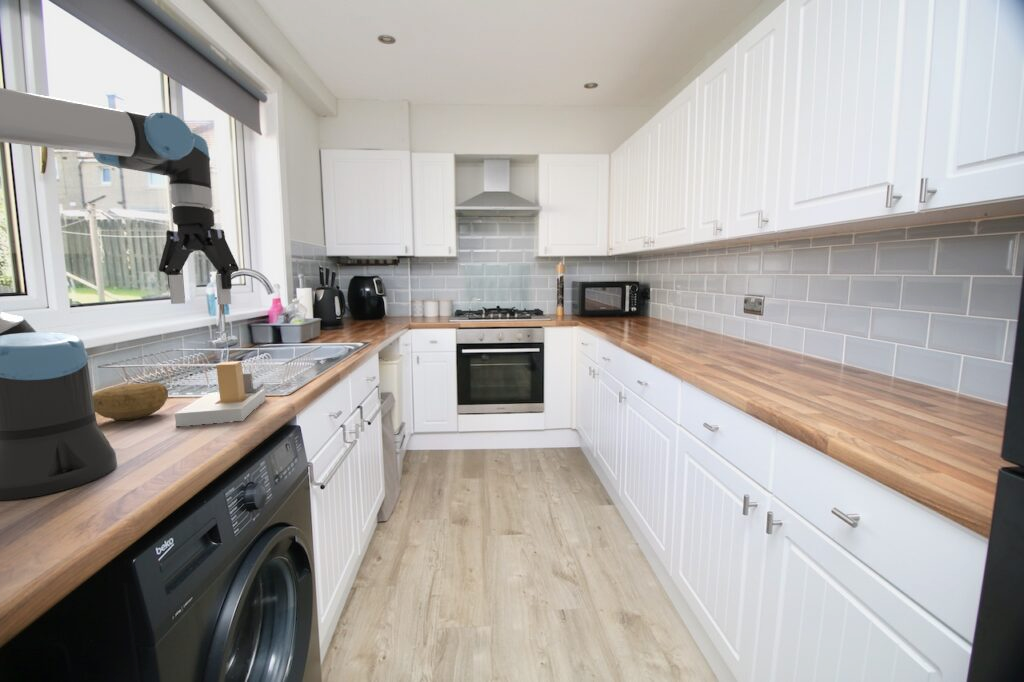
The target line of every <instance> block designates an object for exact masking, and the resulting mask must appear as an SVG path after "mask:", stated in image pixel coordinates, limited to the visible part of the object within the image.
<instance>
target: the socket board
mask: <svg viewBox="0 0 1024 682" xmlns="http://www.w3.org/2000/svg"><path fill="white" fill-rule="evenodd" d="M265 391H266V390H265V388H264V389H261V388H260V389H259V390H258V391H256V392H249V393H245V400H244V401H243V402H235V403H221V402H220V393H219V391H218V392H217V391H216V392H208V393H206V394H204V395H203V396H200V397H199V398H198V399H196V400H194V401H193V402H191V403H190V404H188V405H186V406H185V407H183V408H181V409H179V410H178V411H176V412H174V419H175V421H174V423H175V427H176V426H180V427H191V426H190V425H193V426H203V425H202V424H205V425H214V424H213V423H217V424H224V423H223V422H229V423H232V422H231V421H242V422H243V421H245V418H246V417H247V416H248V415H249V414H250V413H251V412H252V411H253V410H254V409H255V410H257V409H258V408H259V407H260V406H261V405H262V404H263V403H264V402H266V392H265ZM260 404H261V405H260ZM259 405H260V406H259ZM258 406H259V407H258ZM257 407H258V408H257ZM256 408H257V409H256ZM255 410H254V411H255ZM254 411H253V412H254ZM253 412H252V413H253ZM252 413H251V414H252ZM251 414H250V415H251ZM250 415H249V416H250ZM249 416H248V417H249ZM248 417H247V418H248ZM247 418H246V419H247Z"/></svg>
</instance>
